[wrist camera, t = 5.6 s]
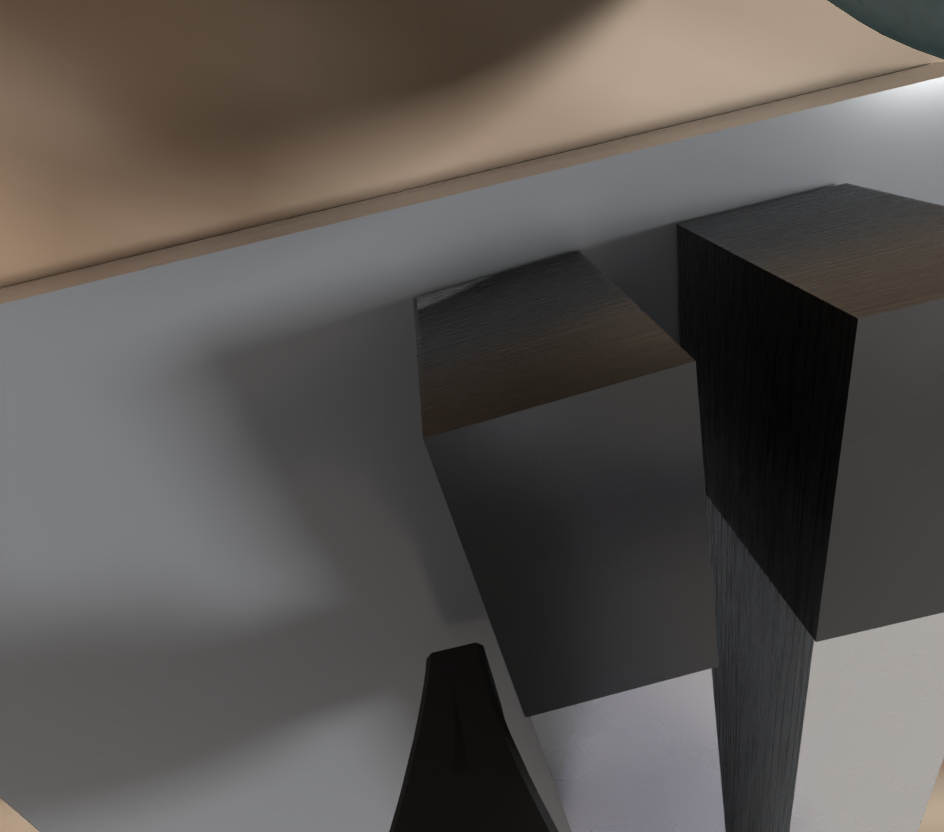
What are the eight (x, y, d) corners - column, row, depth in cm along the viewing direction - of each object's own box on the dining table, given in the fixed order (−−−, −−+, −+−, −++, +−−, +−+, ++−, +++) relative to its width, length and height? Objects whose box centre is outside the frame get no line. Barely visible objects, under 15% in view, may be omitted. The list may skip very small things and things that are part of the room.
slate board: (808, 841, 20) (830, 883, 19) (260, 967, 20) (252, 1015, 19) (935, 62, 8) (1011, 59, 7) (-346, 372, 9) (-447, 411, 8)
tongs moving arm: (683, 862, 17) (746, 1038, 14) (604, 882, 17) (651, 1062, 14) (578, 249, 8) (695, 361, 5) (413, 298, 8) (423, 437, 5)
